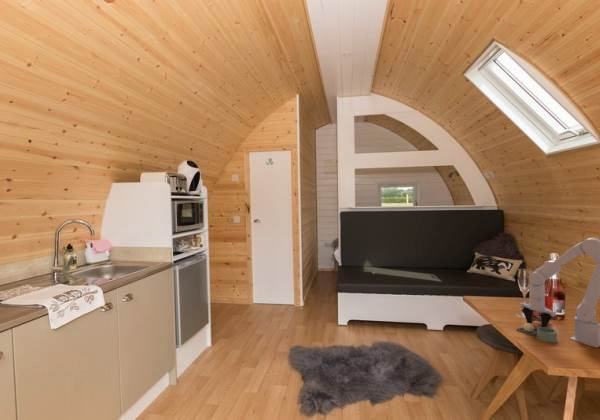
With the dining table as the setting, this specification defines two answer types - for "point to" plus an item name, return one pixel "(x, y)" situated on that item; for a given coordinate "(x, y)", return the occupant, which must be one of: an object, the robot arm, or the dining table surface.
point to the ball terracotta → (536, 324)
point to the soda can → (537, 314)
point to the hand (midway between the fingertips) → (536, 326)
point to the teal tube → (546, 334)
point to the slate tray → (528, 332)
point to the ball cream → (528, 327)
